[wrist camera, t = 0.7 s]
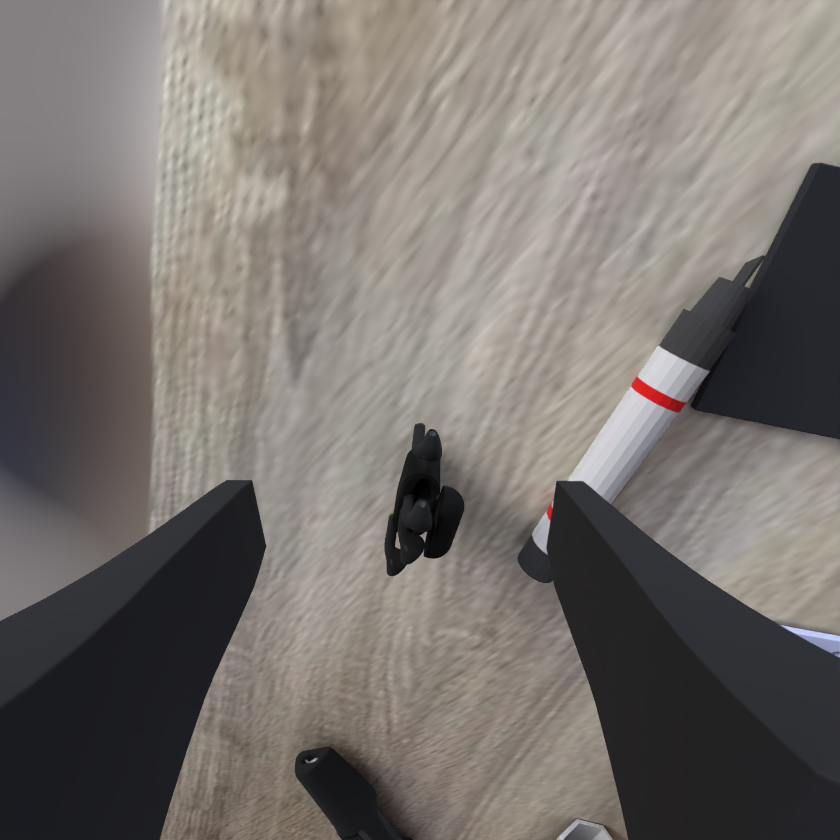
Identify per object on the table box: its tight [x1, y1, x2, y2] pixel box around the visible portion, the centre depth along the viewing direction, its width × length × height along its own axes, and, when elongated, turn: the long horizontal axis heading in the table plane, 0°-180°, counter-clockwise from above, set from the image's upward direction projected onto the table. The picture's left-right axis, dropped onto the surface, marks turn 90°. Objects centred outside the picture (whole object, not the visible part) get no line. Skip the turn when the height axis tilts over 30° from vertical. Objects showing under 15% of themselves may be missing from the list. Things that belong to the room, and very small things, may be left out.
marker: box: [518, 256, 765, 583], centre depth 19 cm, size 15×2×2 cm, turn 157°
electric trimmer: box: [295, 747, 413, 840], centre depth 31 cm, size 4×16×3 cm, turn 19°
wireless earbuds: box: [385, 423, 464, 576], centre depth 19 cm, size 7×2×5 cm, turn 165°
